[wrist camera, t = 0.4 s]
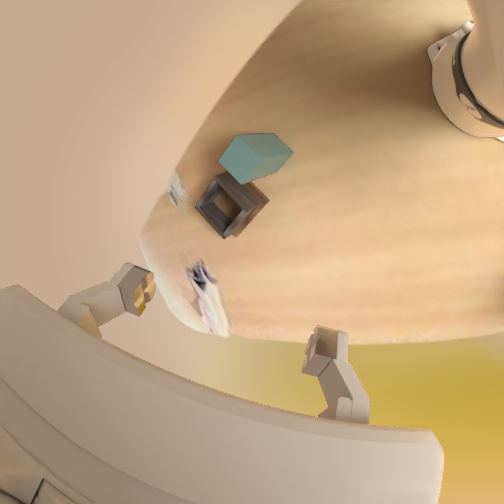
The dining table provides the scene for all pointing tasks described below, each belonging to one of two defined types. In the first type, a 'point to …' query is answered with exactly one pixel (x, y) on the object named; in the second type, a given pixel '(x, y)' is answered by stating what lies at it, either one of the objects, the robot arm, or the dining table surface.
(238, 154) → the teal block
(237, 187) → the box
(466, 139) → the dining table surface
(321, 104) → the dining table surface
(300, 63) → the dining table surface
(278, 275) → the dining table surface
